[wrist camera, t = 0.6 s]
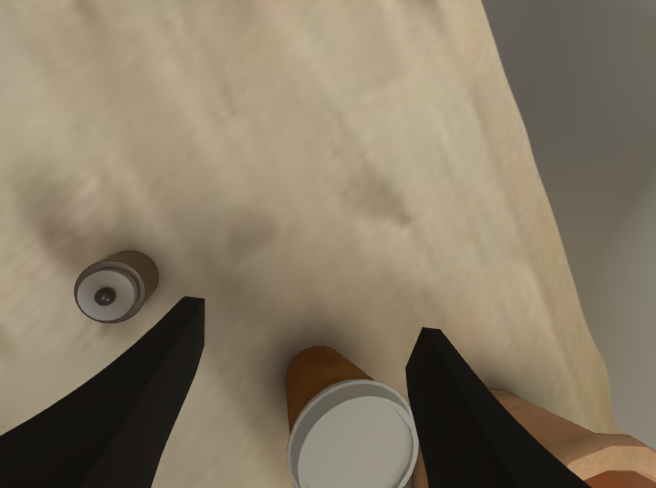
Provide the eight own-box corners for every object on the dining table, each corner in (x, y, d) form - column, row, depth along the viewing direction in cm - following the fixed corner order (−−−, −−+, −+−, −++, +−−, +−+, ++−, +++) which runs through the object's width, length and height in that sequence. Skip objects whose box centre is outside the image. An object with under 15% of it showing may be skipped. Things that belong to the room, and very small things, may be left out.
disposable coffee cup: (248, 400, 35) (261, 498, 23) (302, 312, 35) (341, 365, 24) (330, 438, 37) (378, 542, 26) (379, 356, 38) (448, 422, 26)
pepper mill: (133, 313, 31) (106, 346, 24) (87, 280, 30) (45, 304, 23) (170, 273, 32) (155, 294, 24) (126, 239, 30) (96, 250, 23)
